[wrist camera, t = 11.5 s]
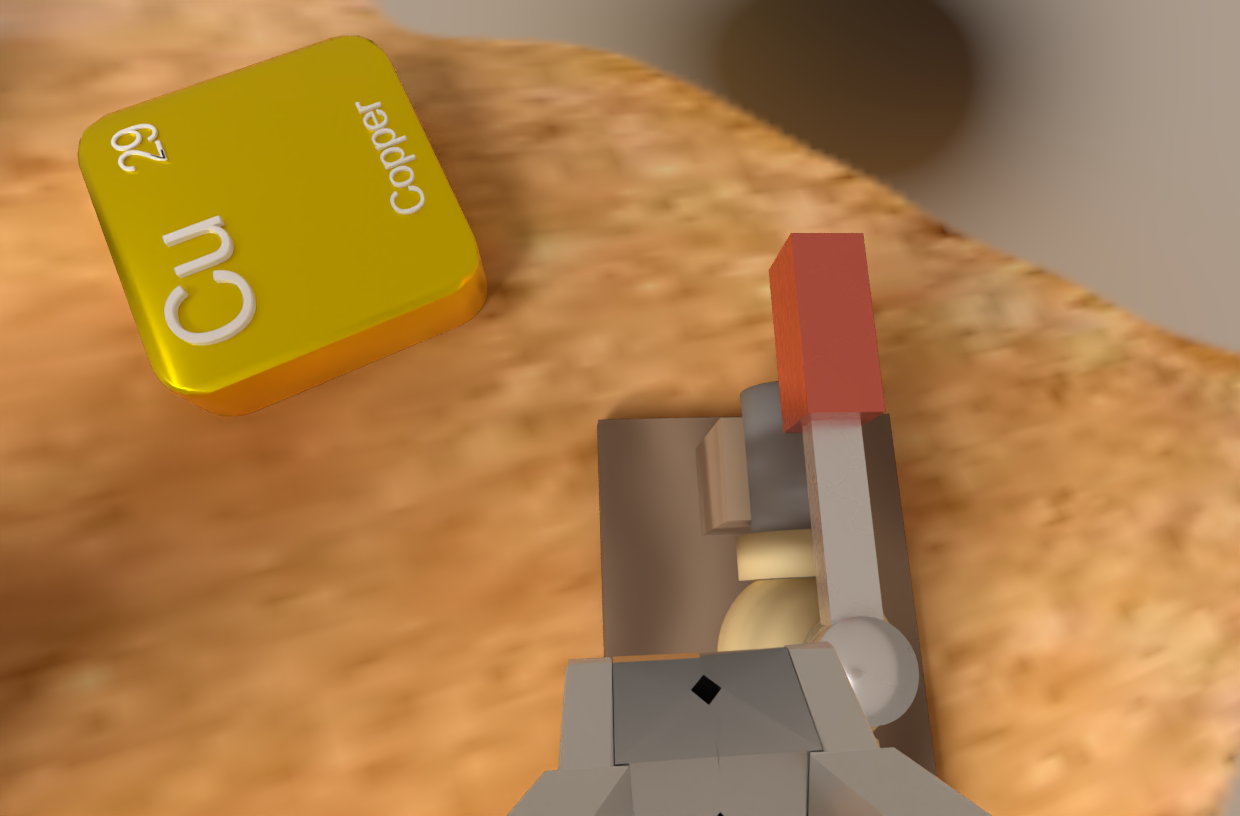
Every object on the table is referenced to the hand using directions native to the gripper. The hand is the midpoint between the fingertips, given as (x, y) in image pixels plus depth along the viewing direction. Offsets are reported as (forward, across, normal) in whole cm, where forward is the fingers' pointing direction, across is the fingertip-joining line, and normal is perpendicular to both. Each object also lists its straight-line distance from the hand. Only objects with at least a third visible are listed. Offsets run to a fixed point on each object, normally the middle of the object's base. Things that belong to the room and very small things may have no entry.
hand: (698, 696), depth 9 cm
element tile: (+33, +16, -2) cm, 37 cm away
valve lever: (+16, -6, +5) cm, 18 cm away
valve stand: (+22, -5, +16) cm, 28 cm away
